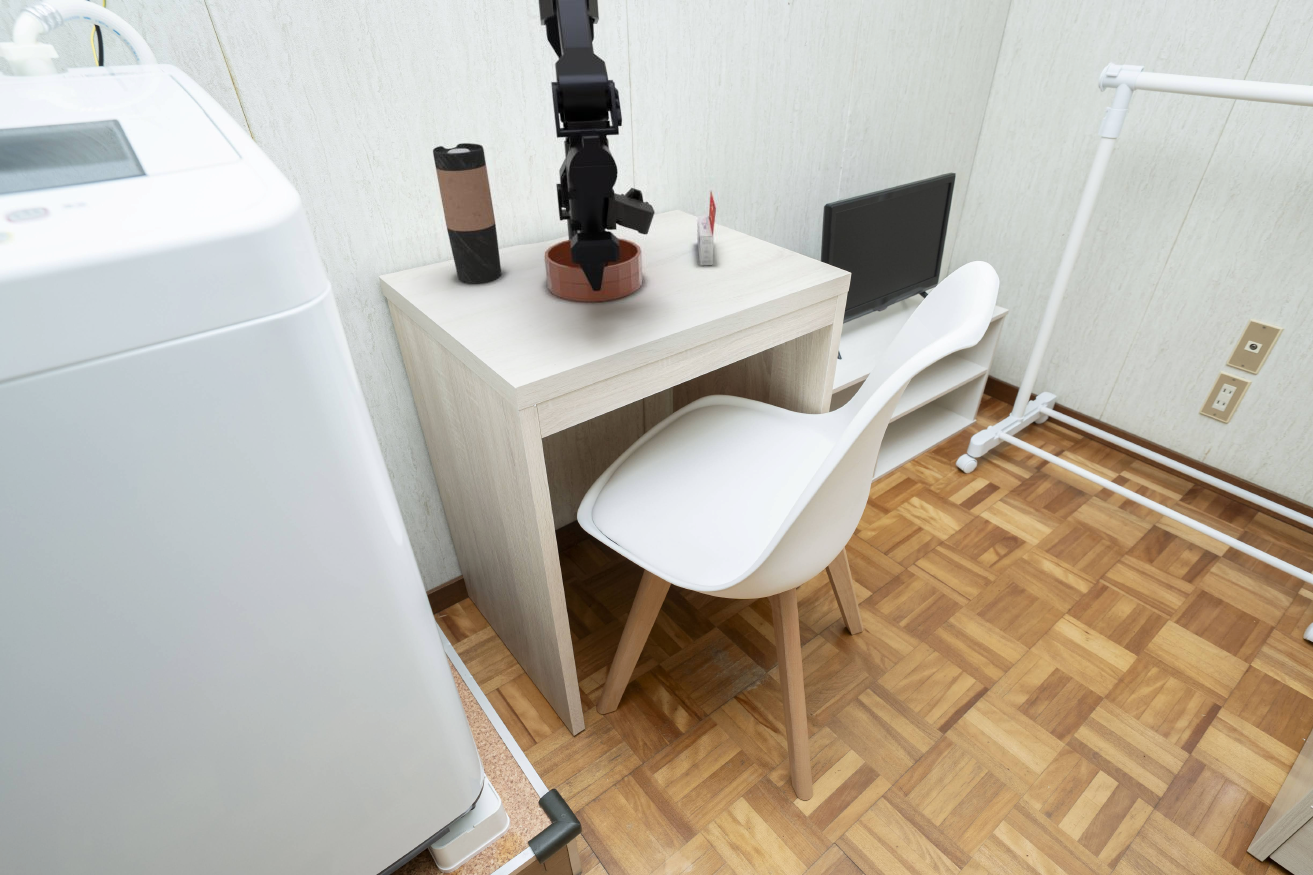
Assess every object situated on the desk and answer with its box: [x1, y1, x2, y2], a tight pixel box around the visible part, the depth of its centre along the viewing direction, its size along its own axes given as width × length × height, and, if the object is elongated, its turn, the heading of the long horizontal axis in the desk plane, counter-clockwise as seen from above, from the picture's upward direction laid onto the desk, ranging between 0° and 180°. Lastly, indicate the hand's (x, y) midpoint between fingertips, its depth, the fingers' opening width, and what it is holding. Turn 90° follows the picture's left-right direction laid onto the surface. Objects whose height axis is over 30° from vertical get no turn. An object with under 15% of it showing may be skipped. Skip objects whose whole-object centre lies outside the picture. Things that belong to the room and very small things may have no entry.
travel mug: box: [432, 142, 502, 284], centre depth 106 cm, size 8×8×20 cm
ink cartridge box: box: [696, 190, 717, 266], centre depth 115 cm, size 2×11×10 cm, turn 0°
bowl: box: [543, 237, 643, 303], centre depth 106 cm, size 15×15×5 cm
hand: (596, 290), depth 97 cm, fingers closed
